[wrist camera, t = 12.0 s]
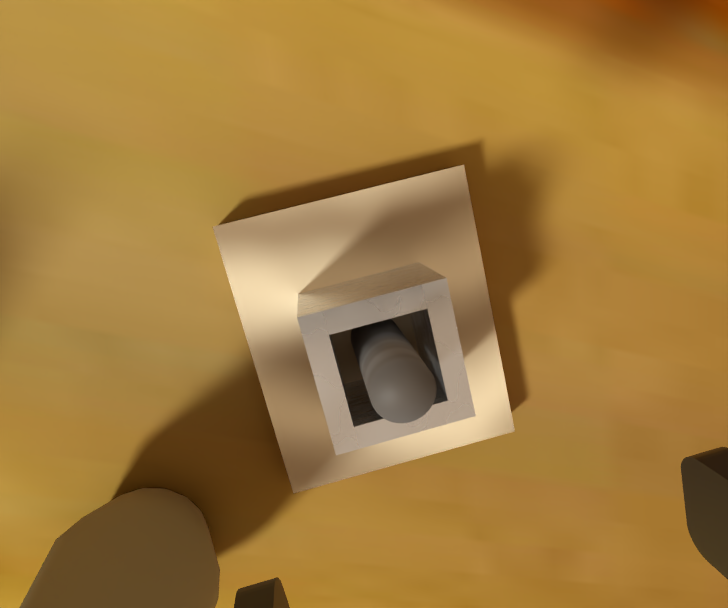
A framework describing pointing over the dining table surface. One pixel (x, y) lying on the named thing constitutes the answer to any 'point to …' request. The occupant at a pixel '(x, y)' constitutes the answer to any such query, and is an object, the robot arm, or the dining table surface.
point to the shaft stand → (373, 341)
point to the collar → (370, 305)
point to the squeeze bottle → (132, 557)
